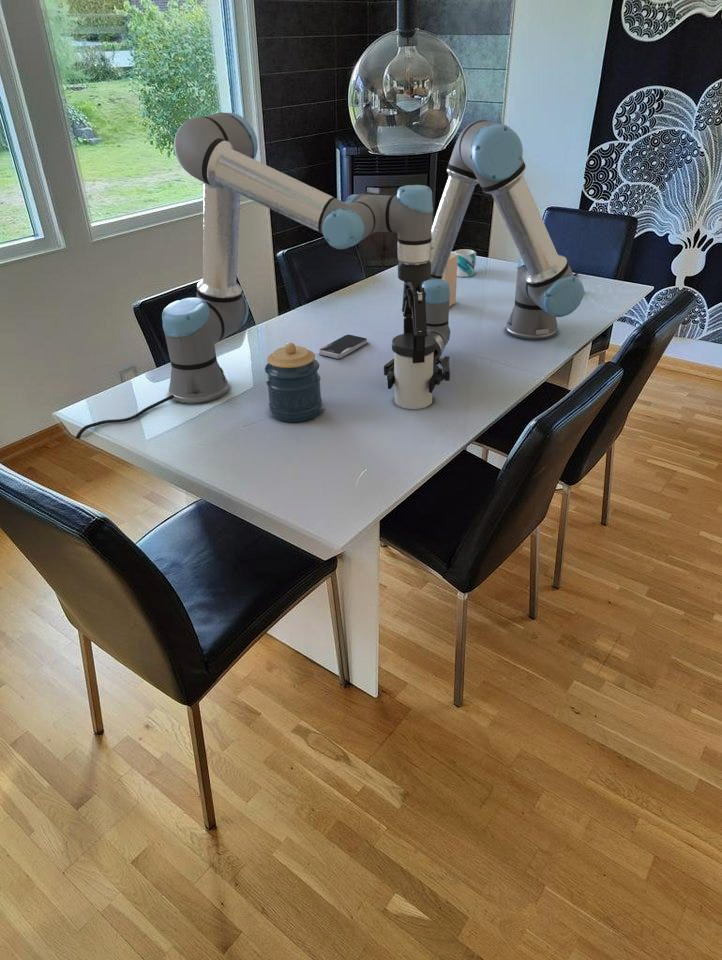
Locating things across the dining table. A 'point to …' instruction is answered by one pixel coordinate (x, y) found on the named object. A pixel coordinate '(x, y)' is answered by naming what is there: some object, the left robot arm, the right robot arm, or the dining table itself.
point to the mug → (465, 262)
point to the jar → (412, 381)
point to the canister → (293, 384)
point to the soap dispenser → (451, 277)
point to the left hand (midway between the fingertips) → (413, 352)
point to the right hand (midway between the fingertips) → (409, 385)
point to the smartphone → (342, 346)
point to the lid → (411, 344)
